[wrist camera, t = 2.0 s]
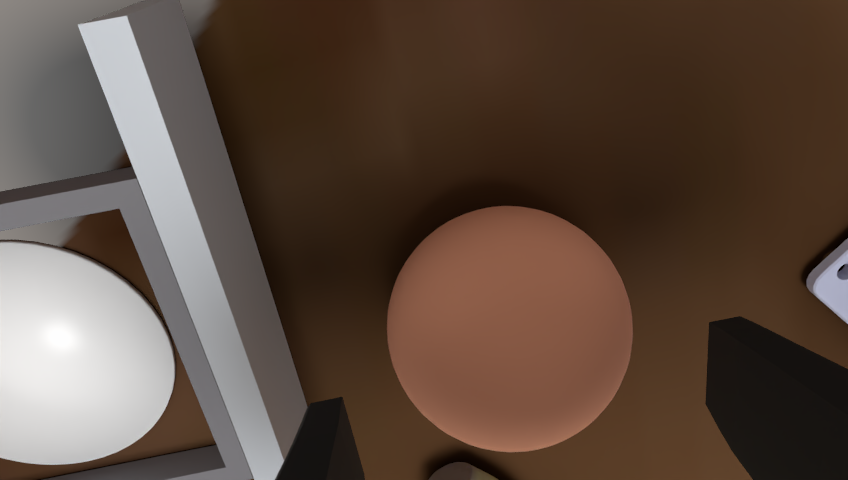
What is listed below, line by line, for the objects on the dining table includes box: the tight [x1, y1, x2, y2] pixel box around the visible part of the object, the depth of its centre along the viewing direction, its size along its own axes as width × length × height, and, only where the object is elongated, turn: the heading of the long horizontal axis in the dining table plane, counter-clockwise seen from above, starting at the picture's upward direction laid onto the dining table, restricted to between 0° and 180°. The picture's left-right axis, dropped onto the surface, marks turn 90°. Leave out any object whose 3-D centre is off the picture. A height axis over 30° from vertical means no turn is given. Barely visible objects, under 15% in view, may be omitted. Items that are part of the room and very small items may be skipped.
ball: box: [387, 206, 633, 452], centre depth 15 cm, size 6×6×6 cm
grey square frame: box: [0, 167, 253, 480], centre depth 17 cm, size 9×9×1 cm
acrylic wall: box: [78, 0, 308, 480], centre depth 16 cm, size 16×1×4 cm, turn 9°
